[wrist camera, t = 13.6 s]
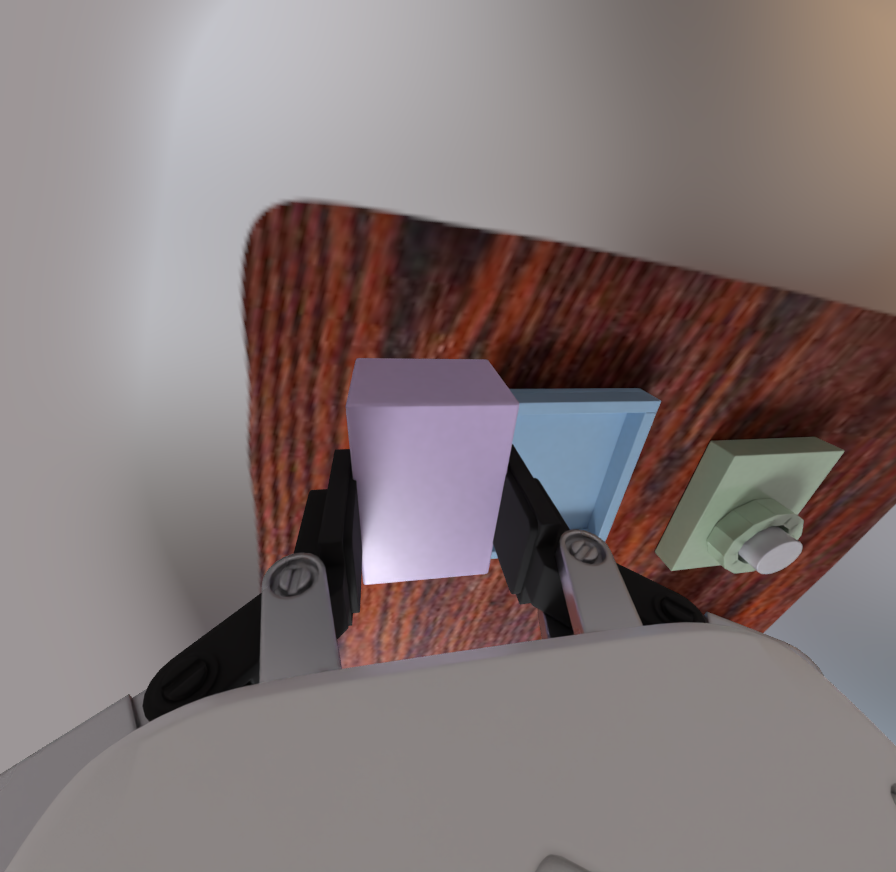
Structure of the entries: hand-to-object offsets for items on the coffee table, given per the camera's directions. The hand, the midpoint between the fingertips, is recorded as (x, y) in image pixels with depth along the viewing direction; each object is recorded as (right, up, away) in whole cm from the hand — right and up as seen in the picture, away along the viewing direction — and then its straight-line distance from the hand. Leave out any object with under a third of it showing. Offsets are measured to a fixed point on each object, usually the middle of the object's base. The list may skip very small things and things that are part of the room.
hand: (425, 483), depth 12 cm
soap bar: (0, +1, +1) cm, 2 cm away
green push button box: (+25, -4, +18) cm, 31 cm away
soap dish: (+8, -1, +13) cm, 15 cm away
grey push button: (+26, -7, +16) cm, 31 cm away
